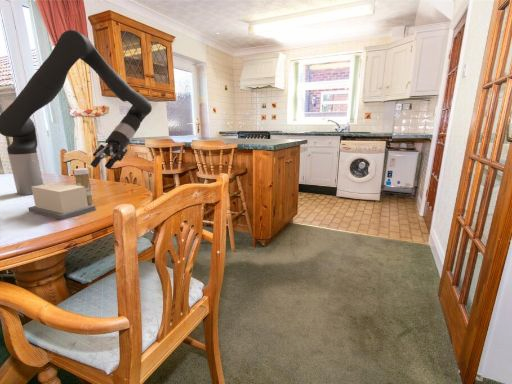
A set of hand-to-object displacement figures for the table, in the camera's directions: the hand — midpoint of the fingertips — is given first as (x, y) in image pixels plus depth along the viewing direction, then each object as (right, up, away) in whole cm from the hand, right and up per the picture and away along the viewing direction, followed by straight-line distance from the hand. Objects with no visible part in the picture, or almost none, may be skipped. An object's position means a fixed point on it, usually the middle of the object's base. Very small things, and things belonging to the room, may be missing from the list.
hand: (99, 167), depth 102 cm
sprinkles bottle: (-3, -14, -3) cm, 15 cm away
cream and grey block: (-6, -16, -12) cm, 21 cm away
